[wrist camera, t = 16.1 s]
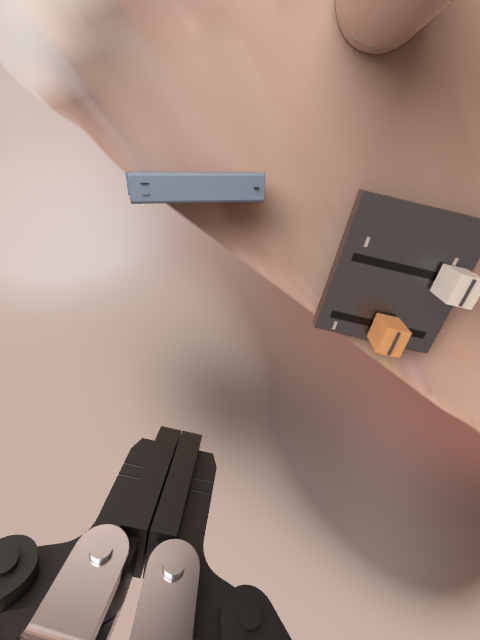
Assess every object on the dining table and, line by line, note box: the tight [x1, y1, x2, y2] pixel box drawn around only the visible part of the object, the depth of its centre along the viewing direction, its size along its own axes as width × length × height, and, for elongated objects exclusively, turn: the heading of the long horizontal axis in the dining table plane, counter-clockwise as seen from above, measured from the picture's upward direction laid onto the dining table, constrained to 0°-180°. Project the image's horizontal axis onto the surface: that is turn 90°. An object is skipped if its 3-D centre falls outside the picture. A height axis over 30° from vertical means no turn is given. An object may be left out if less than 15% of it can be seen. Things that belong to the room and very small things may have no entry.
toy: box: [126, 172, 265, 204], centre depth 38 cm, size 3×16×10 cm, turn 89°
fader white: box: [430, 263, 480, 310], centre depth 39 cm, size 4×3×5 cm
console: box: [313, 189, 480, 353], centre depth 43 cm, size 18×16×2 cm
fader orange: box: [367, 313, 412, 358], centre depth 42 cm, size 4×3×5 cm
